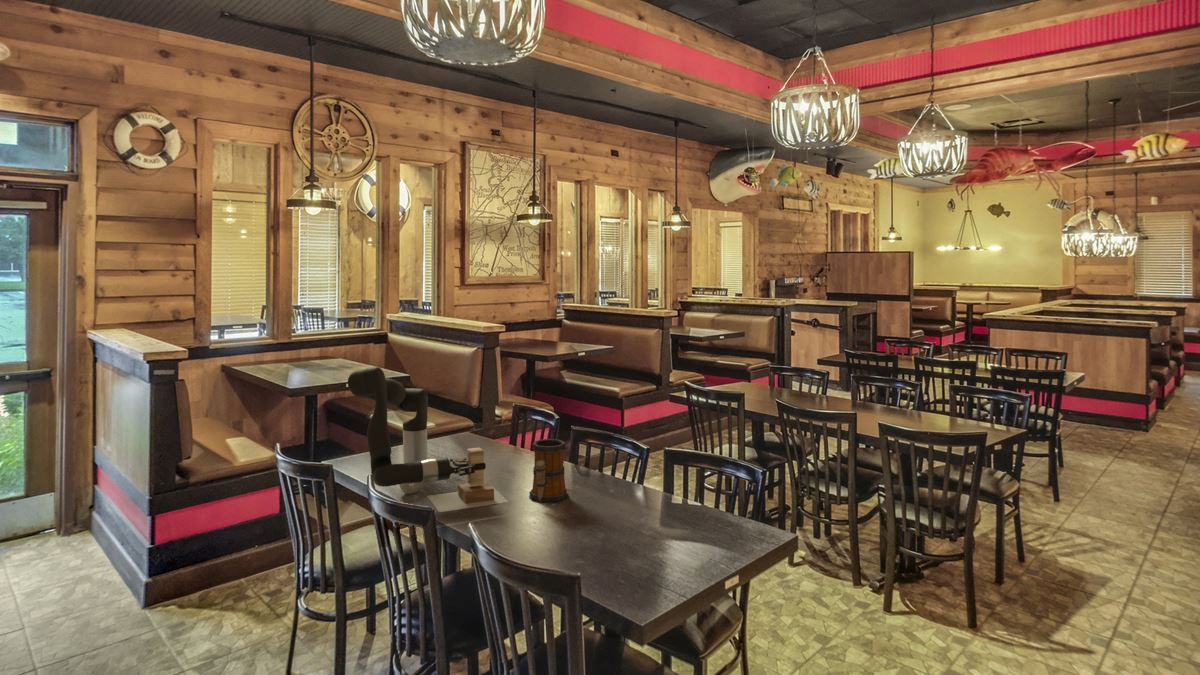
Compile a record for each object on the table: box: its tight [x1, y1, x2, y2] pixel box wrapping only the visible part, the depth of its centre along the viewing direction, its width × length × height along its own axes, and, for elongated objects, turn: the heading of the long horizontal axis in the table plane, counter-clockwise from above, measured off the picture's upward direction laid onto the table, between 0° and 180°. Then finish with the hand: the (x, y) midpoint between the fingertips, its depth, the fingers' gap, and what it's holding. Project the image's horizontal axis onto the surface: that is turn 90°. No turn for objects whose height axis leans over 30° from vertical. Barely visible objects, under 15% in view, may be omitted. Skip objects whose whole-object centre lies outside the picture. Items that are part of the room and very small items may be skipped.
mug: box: [528, 438, 570, 505], centre depth 240 cm, size 19×14×20 cm
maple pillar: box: [466, 447, 485, 486], centre depth 240 cm, size 4×4×12 cm
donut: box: [398, 482, 425, 495], centre depth 246 cm, size 10×4×10 cm, turn 141°
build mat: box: [426, 487, 510, 513], centre depth 240 cm, size 18×24×1 cm
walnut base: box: [457, 480, 495, 504], centre depth 242 cm, size 10×10×4 cm
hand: (482, 463), depth 242 cm, fingers closed on maple pillar, 4 cm apart
